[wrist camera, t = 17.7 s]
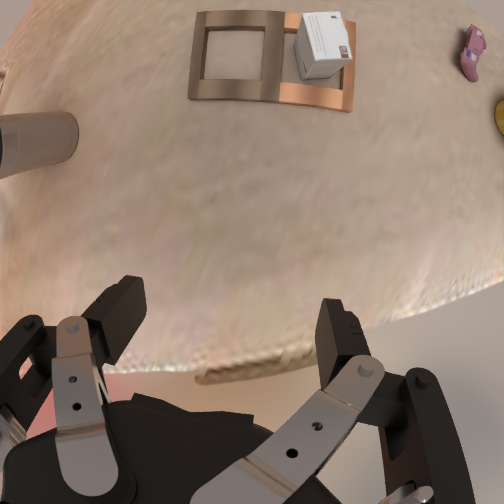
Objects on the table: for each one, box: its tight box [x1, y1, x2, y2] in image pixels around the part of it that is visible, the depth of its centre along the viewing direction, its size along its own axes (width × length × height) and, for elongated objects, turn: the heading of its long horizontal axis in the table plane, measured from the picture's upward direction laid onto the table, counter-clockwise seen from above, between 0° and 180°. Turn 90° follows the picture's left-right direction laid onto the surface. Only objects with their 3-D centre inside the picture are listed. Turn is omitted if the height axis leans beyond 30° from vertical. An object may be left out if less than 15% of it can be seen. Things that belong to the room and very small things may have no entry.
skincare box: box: [294, 12, 353, 80], centre depth 27 cm, size 6×4×12 cm
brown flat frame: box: [188, 10, 356, 112], centre depth 31 cm, size 22×14×2 cm, turn 86°
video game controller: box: [460, 24, 486, 82], centre depth 24 cm, size 10×5×7 cm, turn 157°
